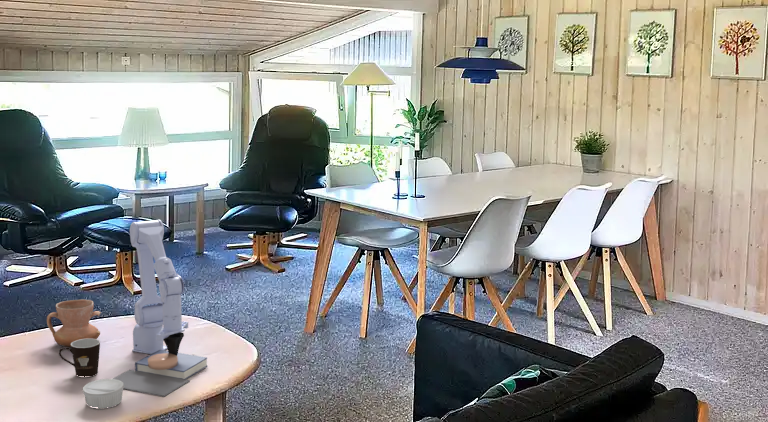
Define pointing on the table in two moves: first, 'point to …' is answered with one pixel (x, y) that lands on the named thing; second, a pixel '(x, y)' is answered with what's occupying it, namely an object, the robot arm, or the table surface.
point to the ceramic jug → (74, 321)
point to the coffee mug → (84, 356)
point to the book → (183, 370)
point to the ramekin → (103, 393)
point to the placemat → (150, 382)
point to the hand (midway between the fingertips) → (173, 355)
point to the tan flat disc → (162, 361)
